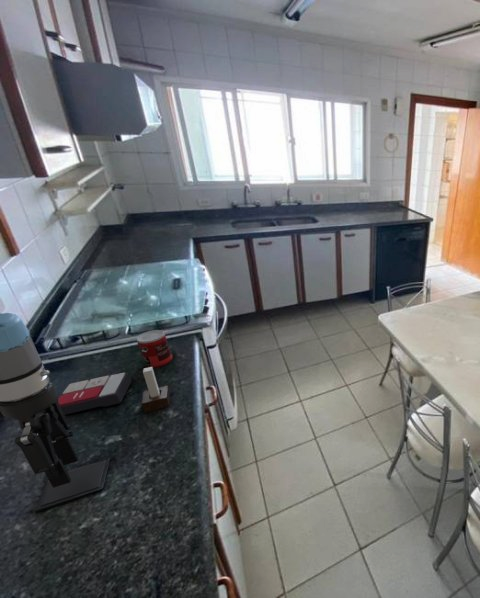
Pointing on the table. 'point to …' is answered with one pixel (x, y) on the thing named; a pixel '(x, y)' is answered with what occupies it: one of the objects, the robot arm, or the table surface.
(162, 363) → the canned food
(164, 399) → the pen stand
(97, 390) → the red grey flat block
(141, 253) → the table surface
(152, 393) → the white square rod
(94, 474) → the plate
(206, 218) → the table surface
